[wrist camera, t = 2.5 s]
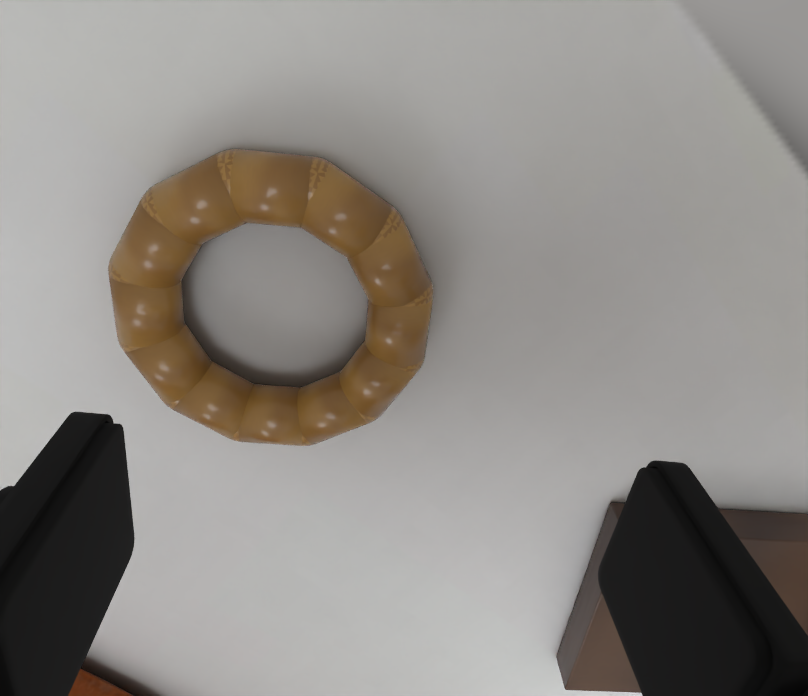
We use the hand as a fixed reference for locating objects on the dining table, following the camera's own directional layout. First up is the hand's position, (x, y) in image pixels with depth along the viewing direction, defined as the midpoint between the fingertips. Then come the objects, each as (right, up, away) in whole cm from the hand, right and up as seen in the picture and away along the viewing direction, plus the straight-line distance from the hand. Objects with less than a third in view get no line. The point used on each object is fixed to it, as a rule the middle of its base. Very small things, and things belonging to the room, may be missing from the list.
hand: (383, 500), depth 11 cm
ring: (-3, +4, +6) cm, 8 cm away
